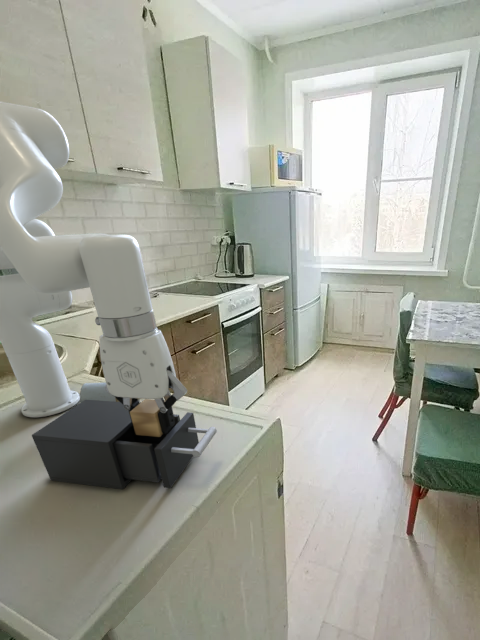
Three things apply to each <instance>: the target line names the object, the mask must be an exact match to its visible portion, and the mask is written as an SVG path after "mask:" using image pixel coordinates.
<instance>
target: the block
mask: <svg viewBox="0 0 480 640" xmlns="http://www.w3.org/2000/svg"><path fill="white" fill-rule="evenodd" d="M164 401H165V399H164ZM140 402H141V403H140ZM140 402H139V403H140V404H139V405H137V406H136V407H135V408H134V409H133V410H131V411H130V415H131V419H132V422H133V426H134V429H135V433H136V435H142V436H154V437H161V435H162V434H163V433H162V430H161V426H160V422H159V418H158V413H159V412H160V410H159V408H158V406H157V404H156V402H155V399H142V401H140Z"/></svg>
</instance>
